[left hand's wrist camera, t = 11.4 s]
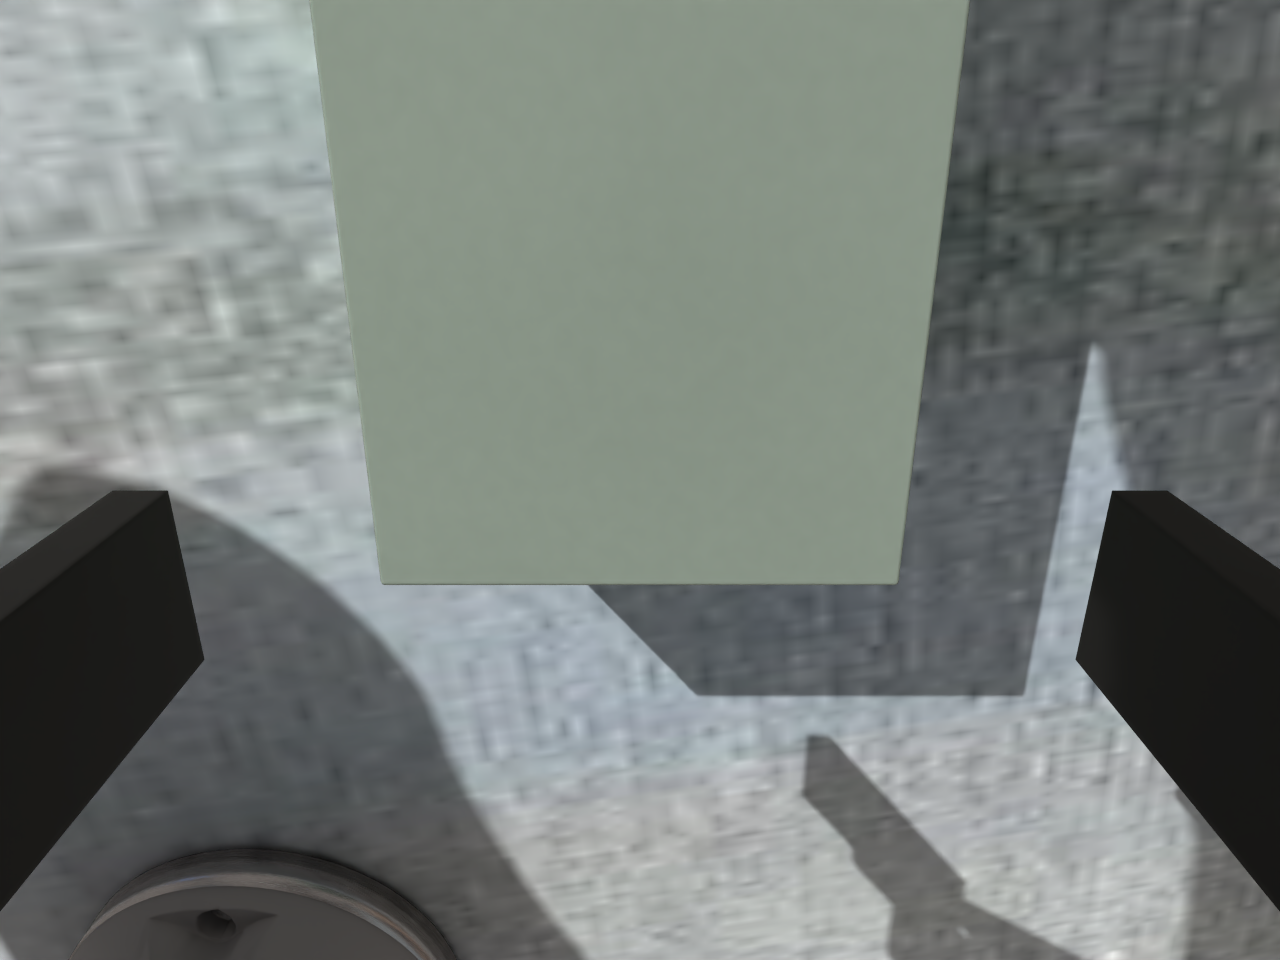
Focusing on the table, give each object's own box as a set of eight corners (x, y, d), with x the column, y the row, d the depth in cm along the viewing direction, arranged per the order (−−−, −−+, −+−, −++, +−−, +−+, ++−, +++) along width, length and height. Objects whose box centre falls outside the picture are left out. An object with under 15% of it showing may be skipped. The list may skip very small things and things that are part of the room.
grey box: (391, -306, 20) (236, -578, 12) (887, -306, 20) (1043, -576, 13) (454, 453, 27) (379, 586, 19) (824, 453, 27) (899, 586, 19)
